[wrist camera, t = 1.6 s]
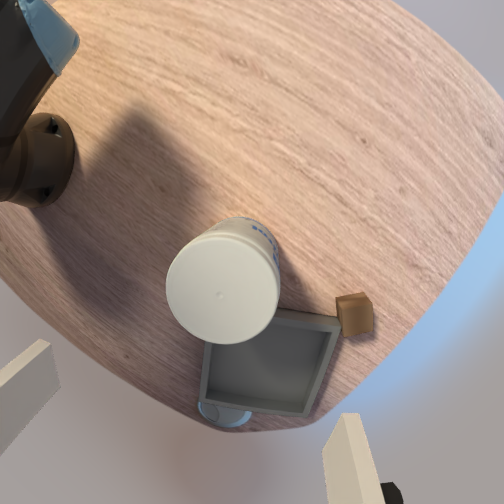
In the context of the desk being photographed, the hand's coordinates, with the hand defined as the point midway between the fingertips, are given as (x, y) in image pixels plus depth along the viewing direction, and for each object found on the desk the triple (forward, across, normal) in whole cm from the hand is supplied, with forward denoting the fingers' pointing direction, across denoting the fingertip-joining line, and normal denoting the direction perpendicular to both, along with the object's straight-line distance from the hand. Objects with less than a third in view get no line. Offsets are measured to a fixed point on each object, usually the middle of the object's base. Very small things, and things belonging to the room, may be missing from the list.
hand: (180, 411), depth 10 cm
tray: (+27, +6, -15) cm, 32 cm away
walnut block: (+28, +16, -5) cm, 32 cm away
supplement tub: (+28, 0, 0) cm, 28 cm away
